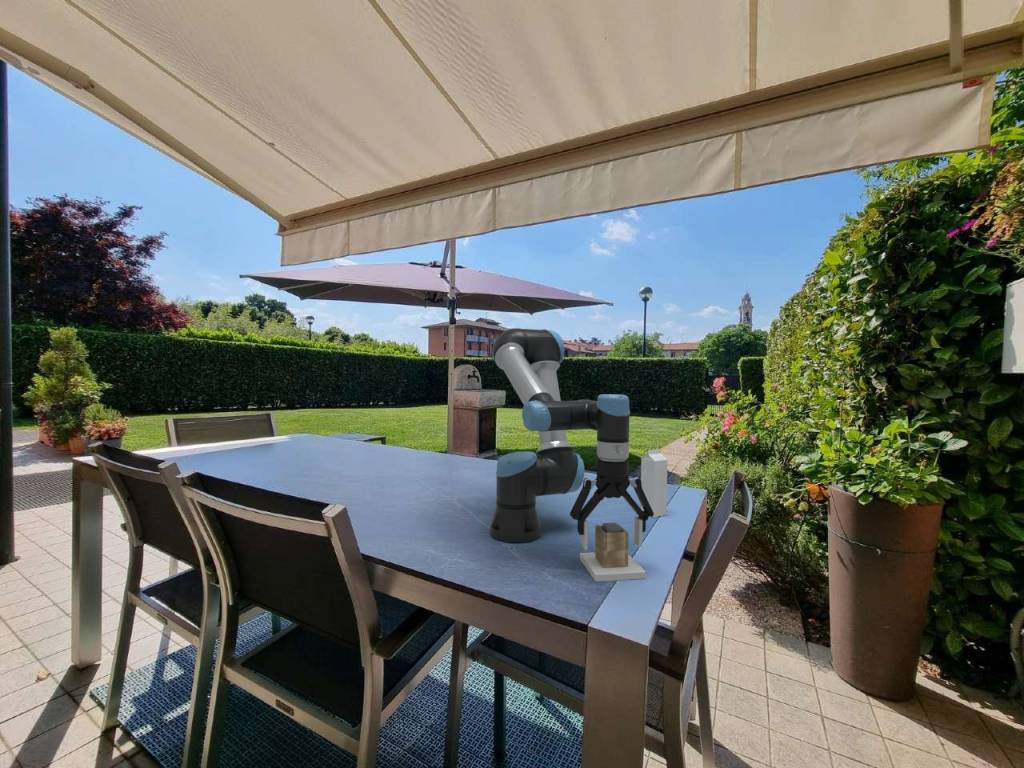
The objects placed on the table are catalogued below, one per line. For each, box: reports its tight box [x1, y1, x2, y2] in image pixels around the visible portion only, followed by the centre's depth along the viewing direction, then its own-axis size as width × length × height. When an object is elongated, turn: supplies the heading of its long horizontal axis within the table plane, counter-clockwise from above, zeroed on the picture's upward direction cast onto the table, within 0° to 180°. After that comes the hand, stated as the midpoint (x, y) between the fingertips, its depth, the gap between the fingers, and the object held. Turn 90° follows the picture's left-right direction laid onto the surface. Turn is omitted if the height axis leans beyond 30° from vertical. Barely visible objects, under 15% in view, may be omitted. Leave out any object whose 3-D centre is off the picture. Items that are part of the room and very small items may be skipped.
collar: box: [594, 523, 630, 568], centre depth 101 cm, size 6×6×8 cm
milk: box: [640, 448, 668, 519], centre depth 142 cm, size 6×6×22 cm
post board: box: [579, 522, 647, 583], centre depth 101 cm, size 12×12×10 cm
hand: (611, 546), depth 101 cm, fingers open, 13 cm apart
